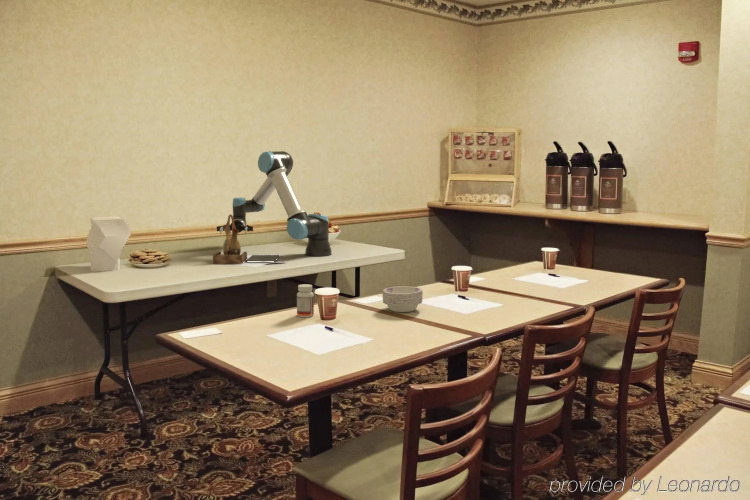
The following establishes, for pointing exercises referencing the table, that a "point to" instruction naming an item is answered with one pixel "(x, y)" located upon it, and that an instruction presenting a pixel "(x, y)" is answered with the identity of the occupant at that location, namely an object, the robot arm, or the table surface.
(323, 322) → the table surface
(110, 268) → the white faceted vase
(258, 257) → the mat
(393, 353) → the table surface
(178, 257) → the table surface
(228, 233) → the ceramic vessel
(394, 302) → the paper bowls
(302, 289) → the pill bottle
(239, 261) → the holder
